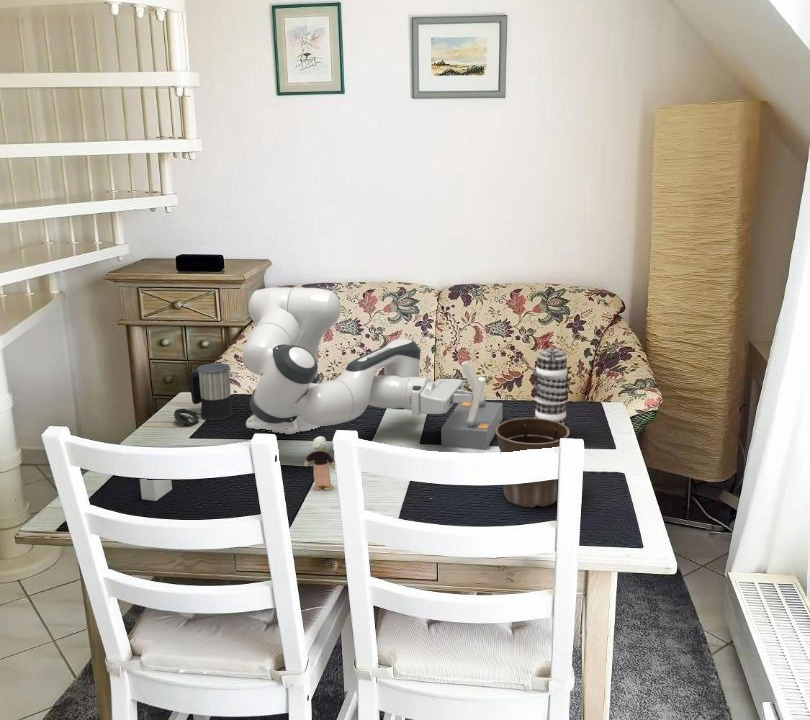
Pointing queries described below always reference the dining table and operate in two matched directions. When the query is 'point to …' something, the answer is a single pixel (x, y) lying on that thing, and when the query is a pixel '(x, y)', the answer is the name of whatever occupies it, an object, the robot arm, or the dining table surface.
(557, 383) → the decorative candle
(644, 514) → the dining table surface
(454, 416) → the switch unit
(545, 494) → the plant pot
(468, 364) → the switch lever
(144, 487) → the light grey rectangular block
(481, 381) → the switch lever
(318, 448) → the grandmother figurine
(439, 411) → the robot arm
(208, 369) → the milk frother
